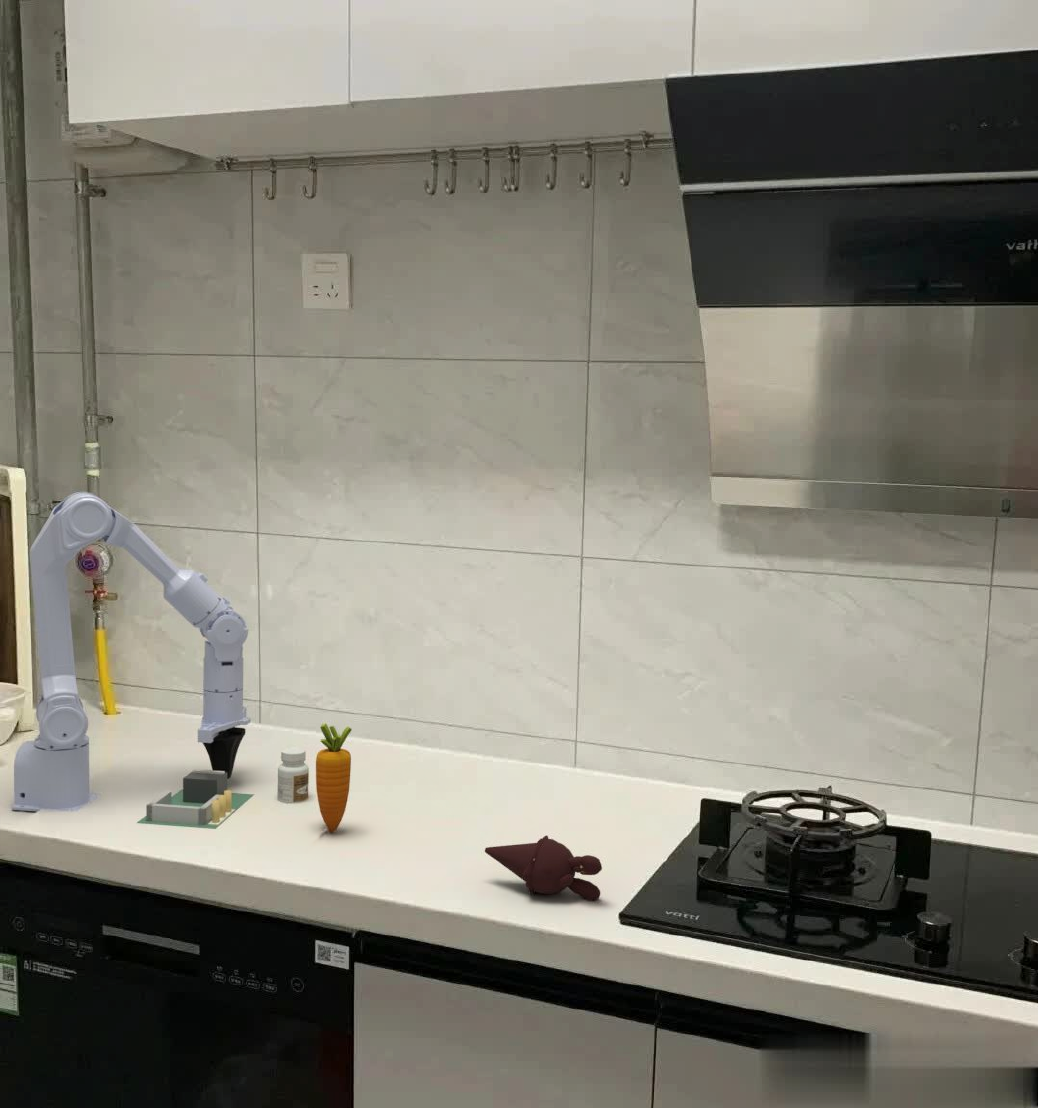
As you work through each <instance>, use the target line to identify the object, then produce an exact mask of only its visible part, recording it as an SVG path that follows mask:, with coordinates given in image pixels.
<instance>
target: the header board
mask: <svg viewBox="0 0 1038 1108" xmlns="http://www.w3.org/2000/svg"><path fill="white" fill-rule="evenodd" d="M254 796H255V794H252V793H242V792H240V793H239V792H238V793H237V792H232V790H230V789H227V790H225V791H224V795H215V796H214V797H213V798H211V799H210V800H209V801H208V802H206V803H205V804H203V803H189V802H183V788H182V789H180V790H179V791H177V792H176V793H175V794H174V795H172V791H171V790H165V791H164V792H163V793H162V794H160V795H158V796H156V798H154V799H153V800H151V801H150V802H149V803H147V804H146V807H145V808H146V815H145V816H143V817H142V818H141V819H139V820H138V821H137V822H136V824H146V825H158V826H168V827H169V826H172V827H185V828H197V829H212V830H213V829H214V830H216V829H217V828H218V827H219V826H221V825H222V824H223V823H224V822H225V821H226V820H227V819H229V817H231V816H232V815H233V814H234V813H235V812H236V811H238V809H239V808H241V807H243V805H244V804H246V802H248V801H249V800H250V799H251V798H252V797H254Z"/></svg>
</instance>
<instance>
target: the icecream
mask: <svg viewBox="0 0 1038 1108" xmlns="http://www.w3.org/2000/svg"><path fill="white" fill-rule="evenodd" d="M484 853H486V854H487V855H488V856H489V857H491V858H493V859H494V860H495V861H496V862H498V863H499V864H500V865H502V866H503V867H505V868H506V869H508V870H509V871H510V872H512V873H513V874H514V875H516V876H517V877H518V878H520V880H523V882H525V886H526V888H527V889H528V890H527V891H528V893H529V895H533V894H534V893H535V892H536V893H538V894H543V895H545V894H546V895H555V894H559V893H561V892H564V891H565V890H567V889H568V890H570V891H571V892H573V893H574V894H575V895H577V896H579V897H581V898H583V899H584V900H589V901H596V900H598V899H599V898H600V896H601V890H600V889H599V887H598V886H597V885H596V884H594V883H593V882H591V881H590V880H586V879H583V878H579V877H575V875H576V873H577V874H580V875H583V876H596V875H598V874H599V873H600V872H601V871H602V870H603V866H602V863H601V860H600V859H599V858H598V857H597V856H595V855H589V854H588V855H587V854H586V855H583V856H577V855H576V856H574V855H573V853H572V852H571V850H570V849H569V848H568V847H567V846H566V845H565V844H562V843H561V842H559V841H557V840H555V839H553V838H549V836H548V835H544V836H543V837H542V838H539V839H538V840H537V842H532V843H531V842H529V843H521V844H511V845H509V844H506V845H499V846H498V845H497V846H488V847H485V849H484ZM532 893H533V894H532Z"/></svg>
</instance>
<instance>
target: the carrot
mask: <svg viewBox="0 0 1038 1108" xmlns="http://www.w3.org/2000/svg"><path fill="white" fill-rule="evenodd" d="M320 730H321V733H322V734H323V736H324V738H321V739H320V742H321V743H322V744H323V745H324V746H325V747H326V748H324V749H321V750H319V752H317V754H316V758H315V785H316V795H317V801H318V806H319V812H320V815H321V818H322V820H323V822H324V824H325V826H326V828H327V830H328V831H329V832H330V833H332V834H333V833H335V831H337V830H338V828H339V826H340V824H341V822H342V820H343V817H344V815H345V812H346V808H347V803H348V798H349V794H350V793H349V792H350V784H351V782H350V781H351V769H352V767H351V766H352V755H351V752H350V751H348V750H347V749H344V748H342V747H343V744H344V743H345V741H346V739H347V737H348V736H349V734H351V732H352V727H350V726H346V727H344V730H343V731H342V733H341V734H338V732H337V729H336V727H335V726H334V725H331V726H328V724H327V723H322V724H321V725H320Z"/></svg>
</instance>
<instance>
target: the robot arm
mask: <svg viewBox="0 0 1038 1108" xmlns="http://www.w3.org/2000/svg"><path fill="white" fill-rule="evenodd" d="M49 514H50V515H49V516H48V518H47V520H46V521H45V523H44V525H43V526H42V528H41V530H40V531H39V533H38V534H37V536H36V538H35V539H34V542H33V543H32V545H31V547H30V549H29V562H30V564H29V565H30V573H31V584H32V585H31V586H32V595H33V605H34V606H33V607H34V616H35V628H36V629H35V631H36V637H37V638H36V639H37V651H38V662H39V671H40V689H41V691H40V692H41V695H40V698H39V701H38V703H37V705H36V709H35V710H36V711H35V715H36V719H37V722H38V729H39V734H38V735H37V737H35V738H34V740H27V741H24V742H23V743H22V744H21V745H20V746H19V747H18V749H17V750H16V753H15V758H14V762H13V787H14V788H13V793H14V794H13V795H14V798H13V799H14V800H13V801H14V802H13V803H14V804H13V805H11V810H15V811H25V812H26V811H27V812H39V811H41V810H46V811H57V812H58V811H59V812H70V813H71V812H78V811H79V810H81V809H83V808H84V807H85V806H87V805H88V804H89V803H91V802H93V801H95V800H97V799H98V798H99V797H101V796H102V794H101V793H96V792H95V793H93V792H90V736H88V735H87V731H88V729H89V719H88V715H87V714H86V712H85V710H84V706H83V702H82V700H81V698H80V697H79V690H78V684H77V677H76V665H75V655H74V654H75V653H74V652H75V651H74V642H73V632H72V620H71V609H70V595H69V585H68V584H69V583H68V575H67V574H68V573H67V564H68V563H69V562H70V561H71V560H72V559H73V558H74V557H75V556H77V555H78V553H79V552H80V551H81V550H82V549H83V548H85V547H87V546H89V545H92V544H93V543H95V542H97V541H99V540H102V541H103V542H104V543H105V544H106V545H110V546H113V547H114V546H115V547H118V548H122V549H124V550H125V551H126V552H127V553H129V554H130V555H131V556H132V557H133V558H134V559H135V560H137V561H138V562H139V564H141V565H142V566H143V567H144V568H145V569H146V570H147V571H149V572H150V573H151V574H152V575H153V576H154V577H155V578H156V579H158V581H159V582H160V583H162V586H163V599H164V600H165V601H166V602H167V603H168V604H170V606H172V607H173V609H175V610H176V611H177V612H178V613H179V614H180V615H181V616H182V617H183V618H184V620H186V621H187V622H188V623H189V624H190V625H192V626H193V627H194V628H196V629H199V632H200V634H201V636H202V637H203V638H205V639H206V640H204V657H203V679H202V680H203V689H202V690H203V691H202V692H203V693H202V694H203V697H202V698H203V701H202V702H203V703H202V704H203V705H202V714H203V715H202V717H201V721H200V726H199V728H198V729H197V743H202V745H203V747H204V748H205V751H206V752H207V754H208V759H209V762H210V765H211V766H210V767H211V770H214V771H225V772H227V780H229V779H230V778H231V777H232V774H233V771H234V766H235V761H236V758H237V754H238V751H239V747H240V745H241V742H242V740H243V739H244V736H245V735H246V728H244V727H239V726H246V725H249V724H251V721H252V720H251V718H252V717H247V706H244V657H243V654H244V653H243V651H244V647H243V644H245V642H246V640H247V638H248V635H249V630H248V628H247V625H246V621H245V620H244V618H243V617H242V615H241V614H239V613H238V612H236V610H234V608H233V607H232V606H230V604H231V602H230V600H229V599H228V598H227V597H226V596H224V597H222V596H220V595H219V594H218V593H217V592H216V590H214V589H213V588H212V587H211V586H210V585H209V584H208V583H207V581H208V580H209V578H208V577H207V576H206V575H205V574H204V573H202V572H199V573H197V572H196V571H195V570H193V569H179V568H178V567H177V566H176V565H175V564H174V563H173V561H172V560H171V559H169V558H168V557H167V556H166V555H165V554H164V552H163V551H162V550H160V548H159V547H157V545H156V544H155V543H154V542H153V541H152V540H151V539H150V538H149V537H148V535H146V534H145V532H143V531H142V530H141V529H140V528H139V527H138V526H137V525H136V524H135V523H134V522H133V521H131V520H130V519H128V518H127V517H125V516H124V515H122V514H121V513H120V512H118V511H116V510H115V509H114V508H112V507H111V506H109V505H108V504H107V502H105V501H104V500H102V499H101V498H100V497H98V496H97V495H95V493H91V492H88V491H79V492H74V493H71V494H70V495H68V496H67V497H65V498H64V499H63V500H62V501H61V502H59V503H58V504H57V505H55V506H54V507H53V508H52V510H51V512H50V513H49Z"/></svg>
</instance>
